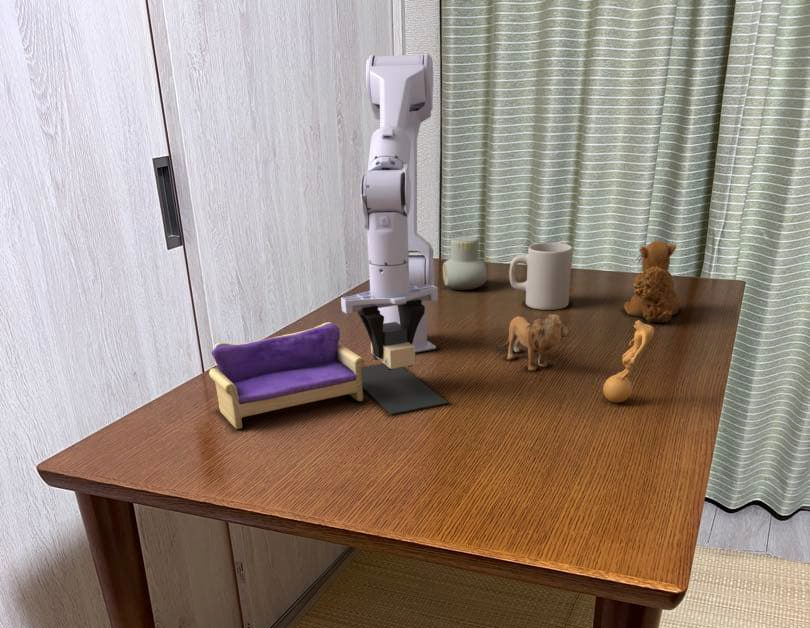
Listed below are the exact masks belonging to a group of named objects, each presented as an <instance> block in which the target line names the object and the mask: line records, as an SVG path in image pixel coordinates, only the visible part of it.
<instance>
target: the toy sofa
mask: <svg viewBox="0 0 810 628" xmlns="http://www.w3.org/2000/svg"><path fill="white" fill-rule="evenodd" d="M340 339H341V332H340V327H338V326H337V325H336V324H335V323H333V322H330V321H328V322H327V321H326V322H324V323H322V324H319V325H317V326H315V327H312V328H309V329H305V330H302V331H298V332H293V333H287V334H283V335H279V336H273V337H269V338H268V337H267V338H263V339H259V340H254V341H251V342H245V343H230V342H217V343H215V344H214V346H213V349H212V350H211V352H210V354H212V357H213V359H214V361H215V364H216V365H217V368H216V367H212V368H210V370H209V372H208V375H209V377H210V379H212V380H213V381H214V383H215V389H216V394H217V401H218V407H219V412H220V413H221V414H222V415H223V416H224V418H225V419H226V420H227V421H228V422H229V423H230V424H231V425H232V427H234V428H235V429H236V430H239V429H240V430H241V429H242V428H243V420H242V418H245V417H251V416H254V415H258V414H263V413H267V412H272V411H277V410H282V409H286V408H289V407H290V408H291V407H295V406H300V405H304V404H308V403H313V402H318V401H323V400H327V399H330V398H331V399H332V398H337V397H341V396H345V395H349V396H350V397H352V398H353V399H354V400H356V401H357V402H363V400H364V392H363V389H362V378H361V368H363V367H365V363H366V362H365V359H364V357H363V358H362V357H361V356H360V355H358V354H357V353H355V352H354V351H352V350H351V349H349V348H347V347H346V346H344V345H343V344H342V343H340Z"/></svg>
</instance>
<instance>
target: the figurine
mask: <svg viewBox="0 0 810 628" xmlns="http://www.w3.org/2000/svg"><path fill="white" fill-rule="evenodd" d="M633 328H634V329H635V332H634V337H633V338H632V339H631V340H630V341H629V342H628V346H629V347H630V348H629V349H627V350H626V352H625V353H623V354H622V356H621V357H622V365H623V366H624V367H625V369H623V370H622V371H620V372H618V373H616V374H614V375H611V376H609V377H608V378H607V379H606V380H605V382H604V384H603V389H602V392H603V394H604V395H603V396H604V397H605V398H606V399H607V400H608V401H609V402H612V403H618V404H619V403H622V402H625V401H626V400H627V399H628V398H629V397H630V396H631V393H632V390H633V387H632V382H631V380H630V379H629V378H628V377H627V376H628V375H629V374H630V373H631V371H632V366H633V364H634V363H635V362H636V359H637V357H638V356H639V355H640V354H641V352H642V351H643V349H645V347H646V345H647V344H648V343H649V341H650V340H651V339H652V338H653V336H654V335H655V328H654V327H653V325H650V324H647V323H644V322H642V321H641V320H639V319H638V320H636V321H635V322H634V325H633Z"/></svg>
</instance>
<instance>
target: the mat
mask: <svg viewBox="0 0 810 628" xmlns="http://www.w3.org/2000/svg"><path fill="white" fill-rule="evenodd" d="M361 378H362V389H363V390H364V392H365V393H367V394H368V395H369V396H370V397H371V398H372V399H373V400H374V401H375V402H376V403H378V404H379V406H380V407H382V408H383V409H384V410H385V411H386V412H387V413H388V414H389V415H390V416H395V415H400V414H405V413H410V412H415V411H419V410H426V409H430V408H435V407H441V406H446V405H448V404H449V401H447V400H445V399H444V398H443V397H441V396H440V395H439V394H438V393H436V392H435V391H434V390H433V389H432V388H430V387H428V386H427V385H426V384H425V383H423V382H422V380H420V379H418V378H417V377H416V376H414V375H413V374H412V373H411V372H409V371H408V370H406V369H405V368H404V367H399V368H394V369H393V370H387V369H386V366H385V364H384V363H381V364H376V365H370V366H363V367H362V368H361Z"/></svg>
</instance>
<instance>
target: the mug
mask: <svg viewBox="0 0 810 628" xmlns="http://www.w3.org/2000/svg"><path fill="white" fill-rule="evenodd" d="M572 262H573V246H571V245H570V244H567V243H561V242H540V243H534V244H532V245H530V246H528V250H527V253H526V254H518V255H515V256H514V257H513V258H512V259H511V262H510V265H509V272H508V273H509V274H508V275H509V283H510V286H511V288H512V289H514V290H516V291H520V292H525V305H526V306H527V307H528V308H531V309H534V310H539V311H541V310H542V311H554V310H555V311H556V310H561V309H565V308H567V307H568V306H569V303H570V290H571V289H570V287H571V273H572ZM518 264H524V265H526V267H527V268H526V270H527V271H526V280H525V281H523V282H519V281H517V279H516V278H515V277H516V276H515V269H516V266H517V265H518Z"/></svg>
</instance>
